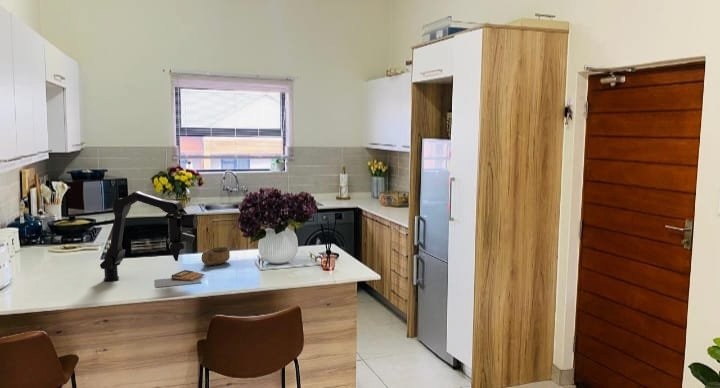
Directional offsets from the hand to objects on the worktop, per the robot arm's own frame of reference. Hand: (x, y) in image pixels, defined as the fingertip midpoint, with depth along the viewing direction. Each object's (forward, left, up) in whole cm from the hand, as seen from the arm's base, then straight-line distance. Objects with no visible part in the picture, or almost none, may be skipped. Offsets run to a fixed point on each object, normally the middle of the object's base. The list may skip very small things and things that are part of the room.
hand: (176, 260), depth 259 cm
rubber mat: (+2, 0, -10) cm, 10 cm away
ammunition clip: (-6, +1, -8) cm, 10 cm away
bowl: (-27, +21, -10) cm, 36 cm away
